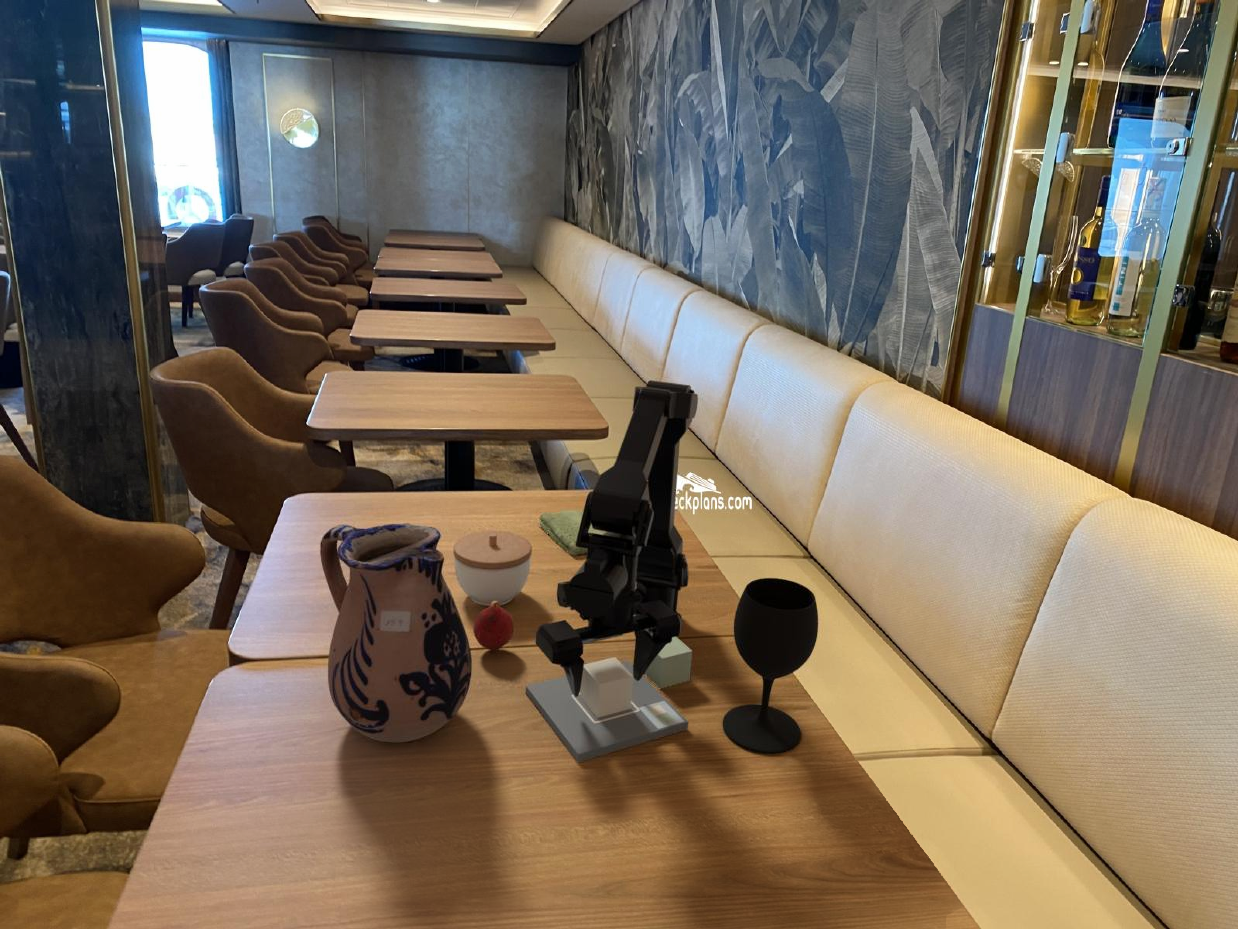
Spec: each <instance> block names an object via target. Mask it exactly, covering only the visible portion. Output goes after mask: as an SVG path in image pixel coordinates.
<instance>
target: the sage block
mask: <svg viewBox="0 0 1238 929" xmlns="http://www.w3.org/2000/svg"><path fill="white" fill-rule="evenodd" d="M692 656H693V650H692V649H691V648H689V646H687V645H686V644H685V643H684V642H683V641H682V640H680V639H679V637H678V636H677V637H672V641H671V643H668V644H666V645H665V647H664V648H663V649H662V650H661V651H660V653H659V654H658V655H657V656H656V658H655V659H654V660H653V662H652V663H651V664H650V666H649V667H648V669H647V670H646V672H645V674H646V675H647V676H646V675H645V674H644V675H645V676H646V677H647V678H648V679H649V678H650V679H649V680H650V682H652V681H653V682H654V683H655V684H656V685H657V686H658V687H657V686H656V685H655V684H654V683H653V682H652V683H653V684H654V685H655V686H656V687H657V688H658V689H659V688H661V689H664V688H663V687H665V688H667V687H666V686H669V687H671V686H670V685H673V686H675V685H674V684H676V685H679V684H678V683H680V684H682V682H684V683H687V682H686V681H688V682H690V677H691V676H690V675H691V668H692Z"/></svg>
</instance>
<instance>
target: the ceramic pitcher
mask: <svg viewBox="0 0 1238 929" xmlns="http://www.w3.org/2000/svg"><path fill="white" fill-rule="evenodd" d="M441 536H442V535H441V533H440V531H439V529H437V528H436V527H433V526H426V525H419V524H411V523H407V522H406V523H389V524H388V523H387V524H384V525H376V526H372V527H368V528H358V527H354V526H353V525H350V524H349V525H348V524H338V525H336V526H333V527H332V528H330V529H329V530H328V531H327V532H325V534H324V535H323V536H322V538H321V541H320V543H319V544H320V546H319V548H320V549H319V551H320V552H319V555H320V561H321V566H322V570H323V573H324V577H325V580H326V583H327V586H328V589H329V592H330V595H331V598H332V600H333V602H334V605H335V607H336V609H337V611H338V615H337V618H336V622H335V625H334V628H333V633H332V638H331V641H330V645H329V651H328V661H327V662H328V663H327V685H328V690H329V694H330V698H331V701H332V703H333V705H334V707H336V709H337V711H338V713H339V714H340V715H341V717H342V718H343V719H344V720H345V721H346V722H347V723H348V724H349V725H350V726H351V727H352V728H353V729H354V730H355V731H356V732H358V733H360V734H362V735H364V736H365V737H367V738H370V739H372V740H375V741H379V742H386V743H402V742H403V743H404V742H411V741H416V740H420V739H421V738H425V737H427V736H429V735H431V734H433V733H435V732H436V731H438V730H439V729H441V728H442V727H443V726H445V725H446V724H448V723H449V722H450V721H451V720H452V719H453V718H454V717H455V716H456V715H457V713H458V712H459V710H460V709H461V707H462V706H463V704H464V701H465V700H466V697H467V695H468V693H469V689H470V684H471V679H472V672H473V671H472V668H473V667H472V666H473V664H472V663H473V661H472V660H473V659H472V652H471V648H470V647H471V646H470V642H469V639H468V638H469V637H468V635H467V632H466V629H465V626H464V623H463V621H462V618H461V614H460V613H459V610H458V607H457V605H456V602H455V599H454V597H453V593H452V592H451V589H450V588H449V587H448V586H449V585H448V584H447V582H446V581H445V578H444V575H443V572H442V571H443V567H444V562H445V558H444V555H443V553H442V552H441V551H440V550H438V549H437V547H438V543H439V541H440V539H441ZM339 541H340V544H339V545H338V542H339ZM341 562H342V563H344V564H345V566H346V567H348V568H349V579H348V583H347V580H346V577H345V576H344V571H343V569H342V566H341Z"/></svg>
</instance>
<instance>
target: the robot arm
mask: <svg viewBox="0 0 1238 929" xmlns="http://www.w3.org/2000/svg"><path fill="white" fill-rule="evenodd" d="M698 396H699V395H698V394H697V393H695V390H694V389H692V386H691V385H690V384H683V383H675V382H668V381H667V382H666V381H658V380H648V381H647V383H646V386H635V388H634V396H633V403H632V409H631V410H632V414H631V417H630V420H629V423H628V425H627V429H626V431H625V434H624V437H623V440H622V442H621V445H620V447H619V451H618V454H617V455H616V459H615V462H614V464H613V465H612V466H611V467H609V468H608V469H607V470H605V471H603V472H602V473H601V474H599V476H598V479H597V480H596V482H595V485H594V487H593V489H592V490H591V491H589V492H588V494H587V496H586V498H585V503H584V508H583V510H584V511H583V515H582V519H581V523H580V528H579V532H578V536H577V540H576V547H581V548H587V553H586V558H585V560H584V562H583V563H582V565H581V566H580V567H579V568H578V570H577V571H576V572H575V574H574V575H572V577H571V579H570V580H568V581H563V582H557V589H556V599H557V600H556V601H557V604H558V606H559V607H561V608H566V609H567V608H569V609H570V610H571V611H575V612H577V613H578V614H579V618H580V619H581V620H582V621H588V622H587V623H588V624H587V626H583V627H578V628H574V627H573V626H572V625H571V624H570V623H569V622H568V621H567V620H566V619H563V620H558V621H554V622H549V623H545V624H544V623H543V624H541V625H540V626H538V627H537V630H536V632H535V643H534V644H535V645H536V646H537V647H538V649H539V650H540V651H541V652H542V653H543V654H544V656H545V657H546V658H547V659H548V660H549V661H550V662H551V664H553V665H556V666H558V665H559V666H560V667H561V668H562V669H563V670H564V674H565V676H566V677H567V680H568V682H569V685H570V688H571V691H572V694H573V695H574V696H575V697H578V695H579V692H580V689H581V682H582V674H583V667H584V664H585V660H584V659H583V658H582V657H581V656H583V654H584V645H587V644H591V643H595V642H600V641H604V640H609V639H612V638H613V639H614V638H618V637H621V636H623V635H625V634H630V633H634V637H635V638H634V639H635V644H634V654H633V664H632V665H633V677H634V679H635V680H636V681H639V680H640V679H641V678H642V676H644V675H645V674H644V673H645V672H646V670H647V669H648V667H649V666H650V664H651V663H652V662H653V660H654V659H655V658H656V656H657V655H658V654H659V653H660V651H661V650H662V649H663V648H664V647H665V645H666V644H668V643H671V641H672V637H677V638H678V637H680V635H681V633H682V624H683V622H682V616H683V615H681V613H679V612H678V611H677V610H678V609H677V608H678V602H679V601H678V599H679V591H681V590H682V588H686V587H688V585H689V576H690V575H689V574H690V572H689V566H688V565H689V564H688V561H687V557H686V556H687V555H686V554H685V553H683V548H684V546H683V544H684V542H683V541H684V540H683V537H682V535H681V534H680V533H679V531H678V529H677V527H676V526H675V525H674V524H675V510H676V502H677V501H676V498H677V485H678V470H679V457H680V442H681V439H682V438H683V437H684V435H685V434H686V433H687V431H688V429H689V427H690V425H691V424H692V422H693V419H694V418H695V417H696V414H697V409H698V405H699V404H698V402H699V397H698ZM591 524H592V528H593V529H594V530H600V531H606V533H604V534H603V535H601V534H595V533H588V531H589V528H590V526H591Z"/></svg>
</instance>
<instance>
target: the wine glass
mask: <svg viewBox="0 0 1238 929" xmlns="http://www.w3.org/2000/svg"><path fill="white" fill-rule="evenodd" d="M818 612H819V611H818V604H817V600H816V596H815V594H814V593H813V591H812V590H811V589H809V588H808V587H806V586H805V585H803V584H801V583H798V582H796V581H792V580H789V579H783V578H776V577H764V578H758V579H755V580H752V581H750V582H749V583H747V585H746V586H745V588H744V589H743V591H742V593H741V596H740V599H739V601H738V603H737V607H736V611H735V614H734V620H733V638H734V642H735V646H736V649H737V651H738V653H739V656H740V657H741V658H742V661H744V662H745V664H746V665H747V666H748V667H749V668H750V669H751V670H752V671H753V672H755V673H756V674H757V675H759V676H760V677H762V696H761V702H760V704H757V703H755V704H754V703H750V704H748V703H747V704H742V705H738V706H735V707H733V708H731V709H729V710H728V711H727V712H726V713H725V715H724V717H723V718H722V729H723V731H724V735H726V737H727V738H728V739H729V740H730V741H731V742H732V743H734V744H735V745H736V746H738V747H740V748H742V749H744V750H746V751H750V752H753V753H757V754H762V755H780V754H784V753H788V752H789V751H790V752H791V750H793V749H795V748H796V747H797V746H798V745H799V744H800V742H801V740H802V729H801V727H800V725H799V724H798V723H797V721H796V720H795V719H794V718H793V717H792V716H791V715H790V714H788V713H786V712H785V711H782V710H781V709H779V708H775V707H773V706H769V704H770V699H771V698H770V697H771V692H772V687H773V684H774V681H775V680H777V679H781V678H783V677H786V676H789V675H791V674H793V673H794V672H796V671H798V670H799V669H801V668H802V666H804V664H806V662H808V660H809V659H810V657H811V655H812V653H813V651H814V649H815V647H816V643H817V640H818V632H819V613H818Z"/></svg>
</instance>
